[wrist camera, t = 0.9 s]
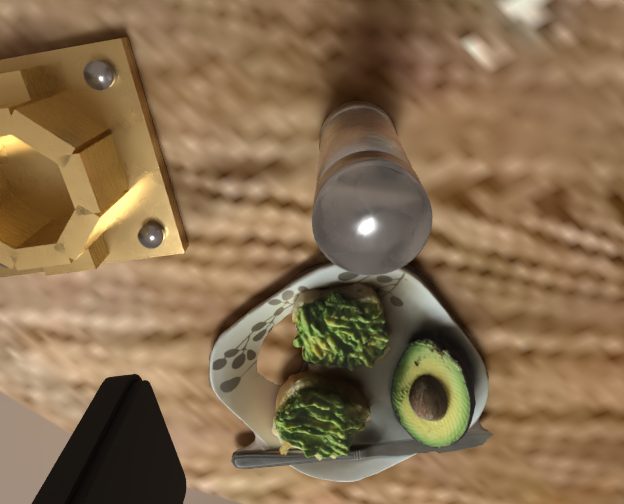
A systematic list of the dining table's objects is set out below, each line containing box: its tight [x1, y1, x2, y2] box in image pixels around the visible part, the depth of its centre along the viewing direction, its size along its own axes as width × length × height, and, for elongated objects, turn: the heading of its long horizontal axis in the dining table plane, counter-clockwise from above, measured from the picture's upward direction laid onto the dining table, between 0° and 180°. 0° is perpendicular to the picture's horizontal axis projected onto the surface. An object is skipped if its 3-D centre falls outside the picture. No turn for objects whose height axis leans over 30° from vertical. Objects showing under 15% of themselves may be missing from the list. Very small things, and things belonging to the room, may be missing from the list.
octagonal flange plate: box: [0, 37, 189, 277], centre depth 28 cm, size 12×12×5 cm
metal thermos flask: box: [312, 100, 432, 276], centre depth 23 cm, size 4×4×12 cm
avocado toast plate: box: [209, 261, 493, 482], centre depth 34 cm, size 19×18×5 cm
